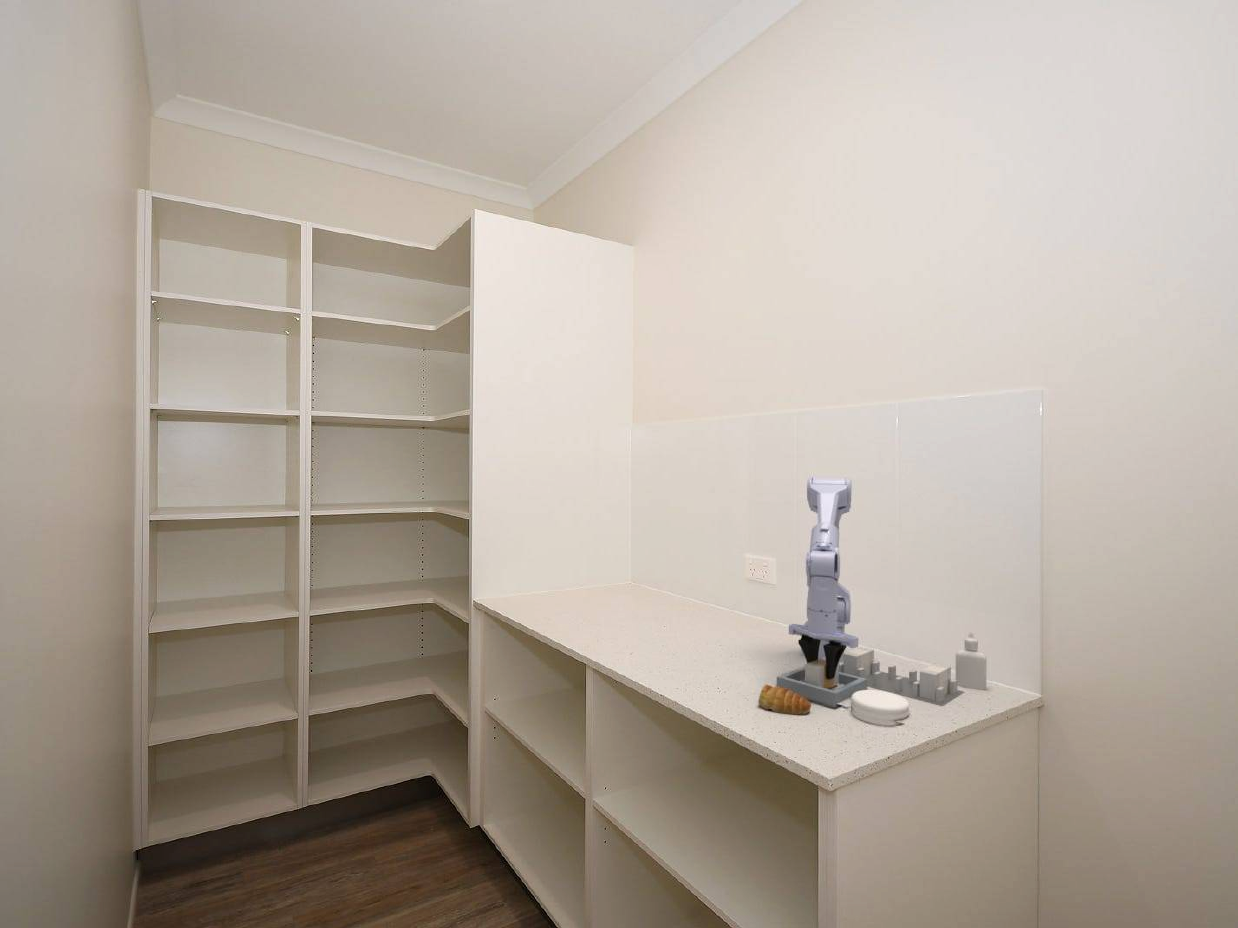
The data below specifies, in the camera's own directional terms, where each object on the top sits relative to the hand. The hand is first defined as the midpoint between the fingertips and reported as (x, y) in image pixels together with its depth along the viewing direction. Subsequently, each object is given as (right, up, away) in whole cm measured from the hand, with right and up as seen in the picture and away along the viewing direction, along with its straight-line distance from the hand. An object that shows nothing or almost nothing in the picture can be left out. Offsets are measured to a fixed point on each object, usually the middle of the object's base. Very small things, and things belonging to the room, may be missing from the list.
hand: (821, 675), depth 130 cm
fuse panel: (+16, -4, +3) cm, 17 cm away
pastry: (-10, -4, -8) cm, 14 cm away
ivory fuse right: (+22, -3, -3) cm, 22 cm away
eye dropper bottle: (+32, -4, +2) cm, 32 cm away
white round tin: (+7, -4, -12) cm, 14 cm away
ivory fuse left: (+11, -3, +9) cm, 14 cm away
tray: (0, -3, 0) cm, 3 cm away
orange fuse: (0, -2, 0) cm, 2 cm away
